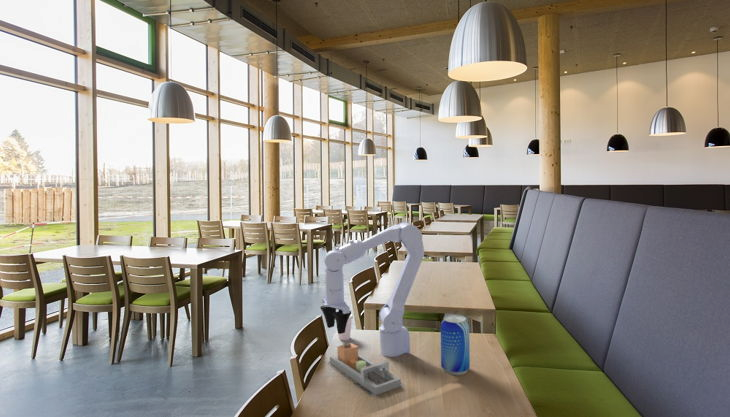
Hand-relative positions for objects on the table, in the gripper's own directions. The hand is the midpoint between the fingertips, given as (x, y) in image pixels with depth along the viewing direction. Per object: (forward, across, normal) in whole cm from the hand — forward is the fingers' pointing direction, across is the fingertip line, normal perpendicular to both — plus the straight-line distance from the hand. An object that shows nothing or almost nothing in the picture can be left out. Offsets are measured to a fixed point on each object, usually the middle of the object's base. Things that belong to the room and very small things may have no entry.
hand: (336, 330), depth 140 cm
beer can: (+10, +28, +25) cm, 39 cm away
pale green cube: (+9, +14, 0) cm, 17 cm away
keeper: (+9, +8, 0) cm, 12 cm away
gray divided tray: (+10, +15, 0) cm, 18 cm away
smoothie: (+10, -12, +10) cm, 19 cm away
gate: (+10, +22, 0) cm, 24 cm away
